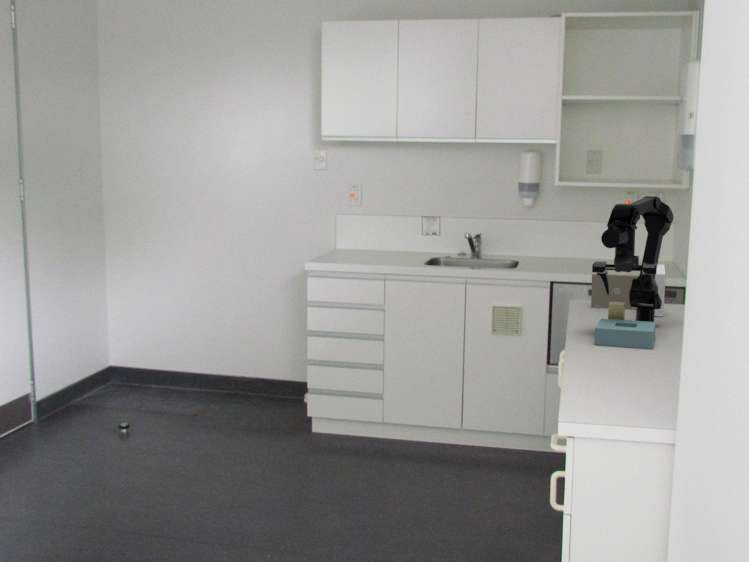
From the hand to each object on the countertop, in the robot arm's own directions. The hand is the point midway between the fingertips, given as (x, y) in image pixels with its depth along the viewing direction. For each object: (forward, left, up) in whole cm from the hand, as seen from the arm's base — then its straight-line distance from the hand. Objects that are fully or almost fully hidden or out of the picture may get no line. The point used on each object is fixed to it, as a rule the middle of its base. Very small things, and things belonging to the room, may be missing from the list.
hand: (623, 295), depth 242 cm
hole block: (+11, +2, -12) cm, 17 cm away
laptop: (-52, -6, -13) cm, 54 cm away
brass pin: (-4, -2, -12) cm, 13 cm away
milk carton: (-38, +7, -12) cm, 40 cm away
